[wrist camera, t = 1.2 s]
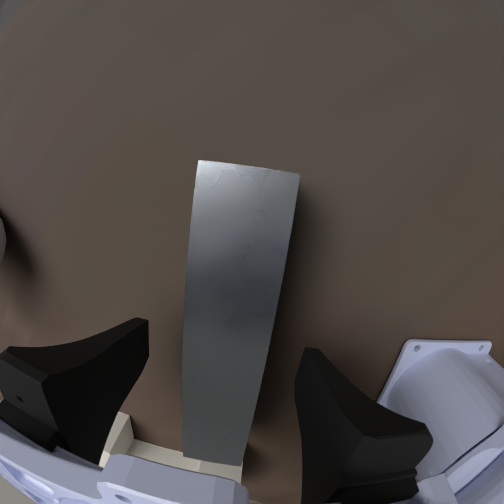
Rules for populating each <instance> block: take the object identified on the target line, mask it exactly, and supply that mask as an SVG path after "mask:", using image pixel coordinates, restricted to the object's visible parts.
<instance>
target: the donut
mask: <svg viewBox="0 0 504 504" xmlns="http://www.w3.org/2000/svg"><path fill="white" fill-rule="evenodd" d="M5 246H6V234H5V230H4V225H3V221H2V219H1V218H0V263H1V261H2V259H3V256H4V251H5Z"/></svg>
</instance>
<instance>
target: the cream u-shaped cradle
mask: <svg viewBox="0 0 504 504" xmlns="http://www.w3.org/2000/svg"><path fill="white" fill-rule="evenodd" d="M120 453H124V454H128V455H133V456H138V457H141V458H144V459H147V460H151V461H154V462H158V463H161V464H165V465H169V466H173V467H177V468H181V469H186V470H190V471H195V472H200V473H206V474H211V475H217V476H221V477H224V478H228V479H232V480H234V481H236V482H238V483H239V484H241V475H242V465H241V467H240V466H232V465H225V464H219V463H213V462H207V461H201V460H196V459H192V458H187V457H183V452H180V451H176V450H172V449H168V448H164V447H160V446H157V445H153V444H150V443H147V442H143V441H140V440H137V439H134V436H133V431H132V426H131V421H130V416H129V415H128V414H125V413H122V412H119V411H118V414H117V416H116V418H115V421H114V423H113V425H112V428H111V430H110V433H109V436H108V438H107V441H106V444H105V447H104V450H103V453H102V456H101V459H100V463H99V466H100V467H103V468H104V467H105V465H106V463H107V461H108V459H109V457H110V455H115V454H120ZM242 464H243V461H242Z"/></svg>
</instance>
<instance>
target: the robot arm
mask: <svg viewBox="0 0 504 504" xmlns="http://www.w3.org/2000/svg"><path fill="white" fill-rule="evenodd" d="M417 345H418V346H417ZM416 346H417V347H416ZM491 346H492V343H491V342H490V341H489V340H479V341H462V340H422V339H410V340H408V341H406V342H405V344H404V345H403V348H402V350H401V352H400V355H399V357H398V359H397V361H396V364H395V366H394V368H393V370H392V372H391V374H390V376H389V378H388V380H387V382H386V384H385V386H384V388H383V390H382V392H381V394H380V396H379V398H378V400H377V402H375V401H374V400H372V399H371V398H369V397H368V396H367V395H365V394H364V393H362V392H361V391H360V390H359V389H357V388H356V387H355V386H354V385H353V384H352V383H350V382H349V381H348V380H347V379H346V378H345V377H344V376H343V375H342V374H341V373H340V372H339V371H338V370H337V369H336V368H335V367H334V366H333V364H332V363H331V362H330V361H329V360H328V359H327V358H326V357H325V356H324V354H323V353H322V352H321V351H320V350H319V349H315V348H305V350H304V353H303V357H302V360H301V363H300V366H299V369H298V373H297V376H296V379H295V402H296V408H297V415H298V420H299V426H300V432H301V439H302V498H301V504H504V369H503V368H502V367H501V366H500V365H499V364H498V363H497V362H496V361H495V360H494V359H493V358H492V357H491V356H490V355H489V354H488V353H489V351H490V349H491ZM415 347H416V348H415ZM414 348H415V349H414ZM148 357H149V332H148V320H145V319H141V318H137V317H136V318H133V319H131V320H129V321H126V322H124V323H122V324H120V325H118V326H116V327H113V328H111V329H109V330H107V331H104V332H102V333H99V334H97V335H94V336H91V337H89V338H86V339H83V340H79V341H75V342H72V343H67V344H61V345H55V346H47V347H14V346H9V347H8V348H7V349H6V350H4V351H3V352H2V353H1V354H0V391H1V393H2V395H3V397H4V400H3V401H2V402H1V403H0V475H1V476H3V477H4V478H5V479H6V480H7V481H9V482H10V483H11V484H12V485H14V486H15V487H16V488H17V489H19V490H20V491H21V492H23V493H24V494H25V495H27V496H28V497H29V498H31V499H32V500H33V501H35V502H36V503H38V504H254V503H248V501H249V494H248V490H247V488H246V487H244V486H243V485H241V484H239V483H238V482H236V481H234V480H232V479H228V478H224V477H221V476H217V475H211V474H206V473H200V472H195V471H190V470H186V469H181V468H177V467H173V466H169V465H165V464H161V463H158V462H154V461H151V460H147V459H144V458H141V457H138V456H133V455H128V454H124V453H120V454H115V455H110V457H109V459H108V461H107V463H106V465H105V467H104V468H103V467H100V466H99V463H100V459H101V456H102V453H103V450H104V447H105V444H106V441H107V438H108V436H109V433H110V430H111V428H112V425H113V423H114V421H115V418H116V416H117V414H118V411H119V409H120V407H121V406H122V404H123V402H124V400H125V399H126V397H127V396H128V394H129V392H130V391H131V389H132V388H133V386H134V384H135V383H136V381H137V380H138V378H139V376H140V375H141V373H142V371H143V369H144V367H145V364H146V362H147V359H148ZM414 477H416V480H417V483H416V481H415V478H414Z"/></svg>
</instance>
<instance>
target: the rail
mask: <svg viewBox="0 0 504 504" xmlns="http://www.w3.org/2000/svg"><path fill="white" fill-rule="evenodd" d="M299 180H300V174H297V173H291V172H285V171H279V170H272V169H266V168H259V167H252V166H245V165H237V164H229V163H220V162H211V161H201V160H199V161H198V168H197V175H196V183H195V191H194V199H193V208H192V217H191V226H190V236H189V247H188V259H187V271H186V285H185V301H184V319H183V344H182V444H183V457H187V458H192V459H196V460H201V461H207V462H213V463H219V464H225V465H232V466H240V467H241V465H242V461H243V457H244V453H245V449H246V445H247V441H248V437H249V433H250V429H251V425H252V421H253V416H254V412H255V408H256V404H257V399H258V395H259V391H260V386H261V382H262V377H263V373H264V368H265V363H266V359H267V354H268V349H269V345H270V340H271V335H272V330H273V325H274V320H275V315H276V310H277V305H278V300H279V295H280V290H281V285H282V279H283V274H284V269H285V263H286V258H287V252H288V246H289V241H290V235H291V229H292V223H293V217H294V211H295V205H296V199H297V193H298V186H299Z"/></svg>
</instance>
